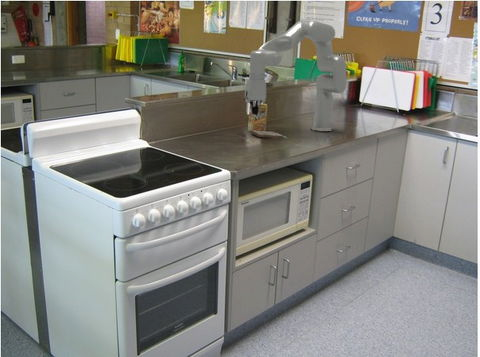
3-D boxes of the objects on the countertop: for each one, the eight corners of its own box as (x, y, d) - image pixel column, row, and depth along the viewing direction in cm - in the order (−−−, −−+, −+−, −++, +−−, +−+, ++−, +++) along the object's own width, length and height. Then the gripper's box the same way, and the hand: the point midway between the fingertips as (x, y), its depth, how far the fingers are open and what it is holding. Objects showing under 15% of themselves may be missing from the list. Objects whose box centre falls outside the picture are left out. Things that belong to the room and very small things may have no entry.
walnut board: (273, 131, 274) (250, 129, 267) (283, 135, 265) (259, 134, 259) (273, 134, 274) (249, 132, 268) (282, 138, 266) (258, 136, 259)
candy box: (251, 133, 275) (253, 104, 270) (247, 132, 278) (249, 103, 274) (265, 133, 279) (267, 104, 275) (261, 131, 283) (263, 103, 278)
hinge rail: (276, 135, 276) (276, 132, 276) (287, 139, 266) (287, 137, 266) (274, 135, 275) (274, 132, 275) (285, 139, 266) (285, 137, 266)
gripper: (266, 75, 261) (264, 112, 267) (239, 76, 255) (237, 113, 260) (273, 77, 255) (271, 114, 260) (246, 78, 248) (244, 116, 254)
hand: (254, 114), depth 260 cm, fingers closed
